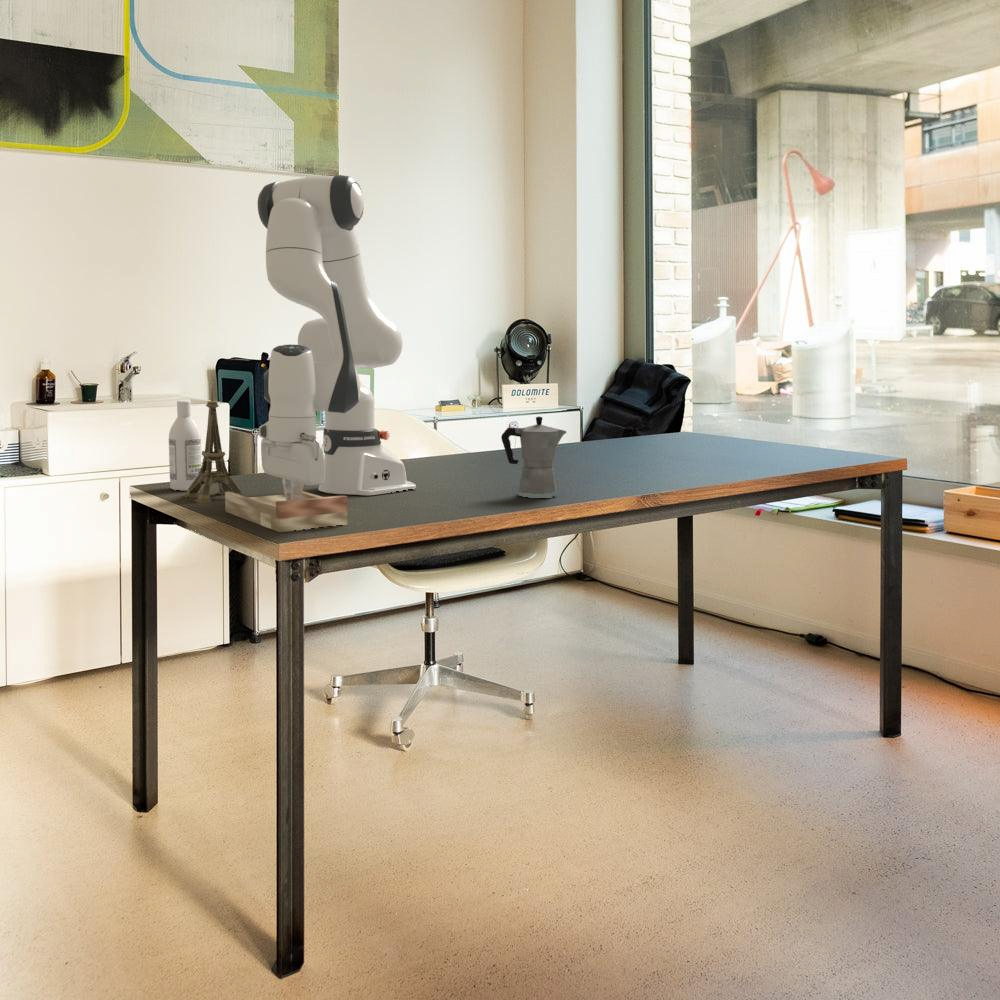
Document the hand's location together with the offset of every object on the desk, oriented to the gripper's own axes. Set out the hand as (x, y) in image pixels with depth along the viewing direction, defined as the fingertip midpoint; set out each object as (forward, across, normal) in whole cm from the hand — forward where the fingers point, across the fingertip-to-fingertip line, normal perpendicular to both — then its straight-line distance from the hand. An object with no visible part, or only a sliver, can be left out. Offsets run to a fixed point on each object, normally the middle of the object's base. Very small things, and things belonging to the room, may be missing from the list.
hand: (293, 502), depth 209 cm
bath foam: (+4, +48, +3) cm, 49 cm away
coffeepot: (+4, +1, -60) cm, 60 cm away
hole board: (+4, +4, 0) cm, 5 cm away
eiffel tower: (+4, +34, +2) cm, 35 cm away
